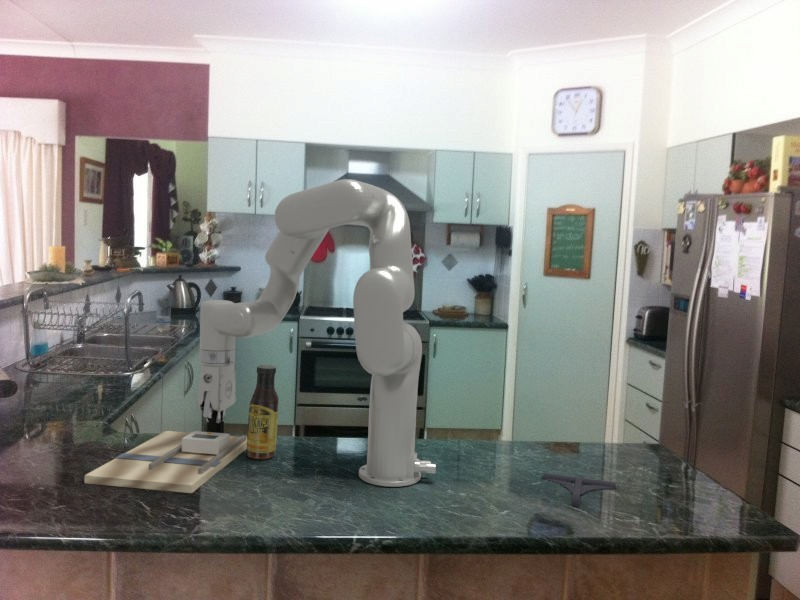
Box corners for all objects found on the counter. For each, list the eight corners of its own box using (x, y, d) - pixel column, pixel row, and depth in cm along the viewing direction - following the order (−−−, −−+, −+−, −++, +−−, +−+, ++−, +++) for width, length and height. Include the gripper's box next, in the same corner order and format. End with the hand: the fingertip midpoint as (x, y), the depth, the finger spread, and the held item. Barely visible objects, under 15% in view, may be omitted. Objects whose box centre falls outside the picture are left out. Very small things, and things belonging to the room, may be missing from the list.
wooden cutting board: (252, 444, 154) (252, 433, 154) (191, 493, 123) (191, 479, 122) (165, 437, 157) (165, 426, 157) (84, 483, 125) (84, 470, 125)
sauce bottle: (240, 458, 144) (243, 366, 143) (257, 450, 150) (259, 362, 148) (266, 463, 142) (269, 369, 140) (282, 455, 147) (285, 365, 146)
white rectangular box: (194, 443, 146) (194, 430, 146) (229, 446, 145) (229, 433, 145) (181, 451, 140) (182, 437, 140) (218, 454, 139) (218, 440, 139)
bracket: (535, 504, 127) (536, 490, 126) (543, 479, 141) (544, 466, 140) (615, 517, 122) (616, 502, 122) (615, 490, 136) (616, 476, 136)
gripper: (220, 363, 139) (217, 450, 140) (246, 353, 153) (244, 431, 155) (185, 361, 140) (183, 447, 141) (214, 350, 154) (213, 429, 156)
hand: (215, 439), depth 148 cm, fingers closed
